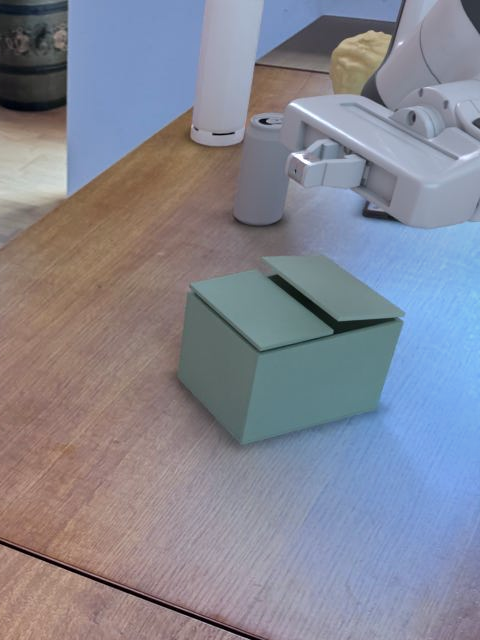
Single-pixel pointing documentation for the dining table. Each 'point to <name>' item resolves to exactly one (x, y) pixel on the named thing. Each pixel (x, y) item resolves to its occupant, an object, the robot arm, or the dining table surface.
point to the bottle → (225, 70)
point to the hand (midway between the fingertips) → (295, 171)
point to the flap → (332, 287)
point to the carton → (278, 356)
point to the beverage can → (262, 172)
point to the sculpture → (357, 61)
